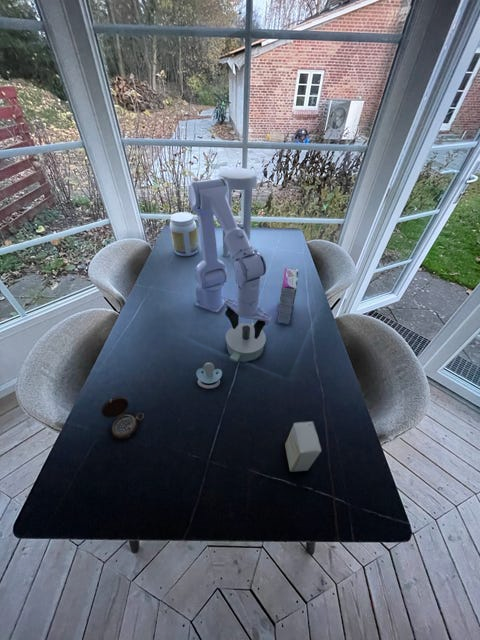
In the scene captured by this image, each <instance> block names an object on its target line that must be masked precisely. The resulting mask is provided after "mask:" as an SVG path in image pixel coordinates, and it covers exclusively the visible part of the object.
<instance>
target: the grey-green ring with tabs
mask: <svg viewBox="0 0 480 640" xmlns="http://www.w3.org/2000/svg"><path fill="white" fill-rule="evenodd" d="M255 323H256V322H254V321H252V323H251V324H255ZM264 346H265V345H264ZM264 346H263V348H262V349H260V350H259V351H257V352H255V353H251V354H242V353H238V352H236V351H234V350H232V349H231V348H230V347H229V346H228V345H227V344H226V349H227V351H228V354H229V355H230V356H229V360H230V361H233V362H234V363H238V362H242V363H247V362H249V361H253V360H256V359H258V358H259V357H260V356H261V355H262V354H263V351H264Z"/></svg>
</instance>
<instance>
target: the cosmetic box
mask: <svg viewBox="0 0 480 640" xmlns="http://www.w3.org/2000/svg"><path fill="white" fill-rule="evenodd" d="M284 447H285V452H286V453H285V454H286V458H287V463H288V468H289V472H292V473H294V472H306V471H307V472H308V471H309V469H310V468H311V467H312V466H313V464H314V462H315V461H316V460H317V458H318V457H319V456H320V454H321V452H322V446H321V444H320V440H319V436H318V433H317V429H316V426H315V424H314V421H313V420H312V421H300V422H299V421H297V422H294V423H293V425H292V427H291V429H290V431H289V434H288V437H287V439H286V441H285V443H284Z"/></svg>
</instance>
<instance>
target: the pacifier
mask: <svg viewBox="0 0 480 640" xmlns="http://www.w3.org/2000/svg"><path fill="white" fill-rule="evenodd" d="M202 372H203V373H202ZM222 375H223V371H222V370H221V369H220V368H215V365H214V364H213V363H212V362H206V363H204V365H203V367H201V368H198V369H197V370H196V378H197V379H198V380H197V385H198V386H199V387H201V388H203V389H215V388H217V387H219V386H220V384H221V380H220V379H221V378H222Z"/></svg>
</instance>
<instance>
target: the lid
mask: <svg viewBox="0 0 480 640" xmlns="http://www.w3.org/2000/svg"><path fill="white" fill-rule="evenodd" d="M254 335H255V329H254V324H252V323H250V322H242V323H241V322H240V323H238V326H237V327H236V328H235V329H233V327H232V326H230V327H229V329H228V330H227V331H226V333H225V342H226V346H227V345H228V346H229V347H230V348H231V349H232V350H234V351H236V352H238V353H242V354H251V353H255V352H257V351H259V350H260V349H262V348H263V346H265V345H266V342H267V336H266V333H265V332H264V330H263V329H262V330H261V333H260V335H259V337H258V338H257V339H255V338H254ZM263 349H264V348H263Z"/></svg>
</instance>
